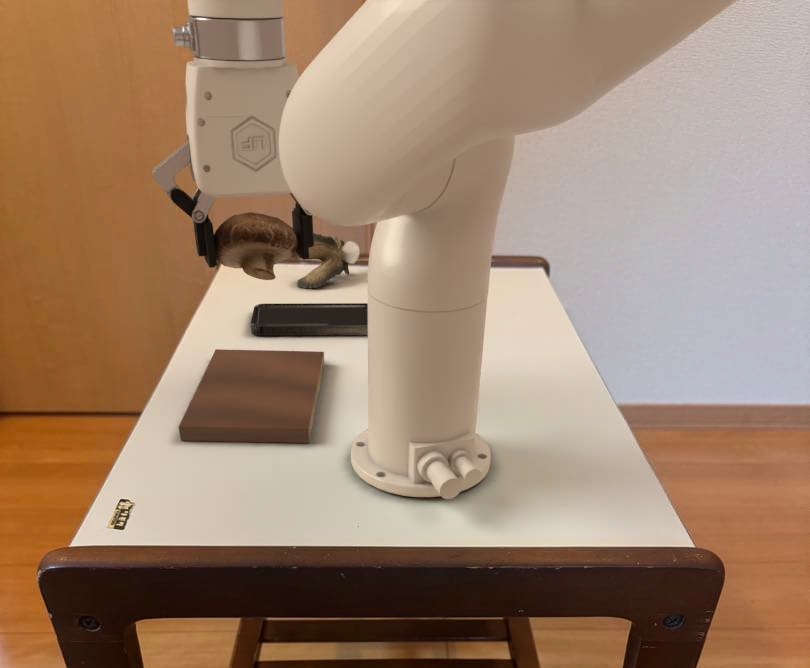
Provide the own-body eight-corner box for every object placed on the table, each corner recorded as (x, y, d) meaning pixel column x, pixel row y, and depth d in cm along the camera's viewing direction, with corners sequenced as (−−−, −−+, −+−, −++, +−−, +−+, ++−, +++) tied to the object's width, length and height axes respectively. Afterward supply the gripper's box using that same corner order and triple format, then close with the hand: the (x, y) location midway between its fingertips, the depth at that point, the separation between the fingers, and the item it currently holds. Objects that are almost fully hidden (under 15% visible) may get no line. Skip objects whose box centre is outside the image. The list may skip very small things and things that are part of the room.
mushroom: (280, 260, 69) (264, 189, 69) (204, 287, 72) (189, 219, 72) (319, 279, 77) (305, 216, 77) (249, 303, 79) (235, 242, 79)
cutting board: (309, 443, 74) (308, 429, 73) (180, 440, 74) (178, 426, 73) (324, 364, 88) (324, 351, 87) (217, 361, 88) (215, 349, 87)
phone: (254, 303, 100) (373, 303, 101) (255, 312, 100) (373, 311, 101) (249, 326, 93) (376, 326, 94) (250, 336, 94) (376, 335, 95)
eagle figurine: (323, 256, 116) (275, 257, 110) (345, 219, 111) (296, 217, 105) (349, 296, 114) (302, 299, 108) (373, 260, 109) (325, 261, 103)
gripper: (133, 48, 59) (168, 280, 70) (353, 47, 65) (356, 263, 75) (124, 39, 65) (158, 255, 75) (328, 39, 70) (333, 241, 81)
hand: (256, 258), depth 75 cm, fingers closed on mushroom, 8 cm apart
